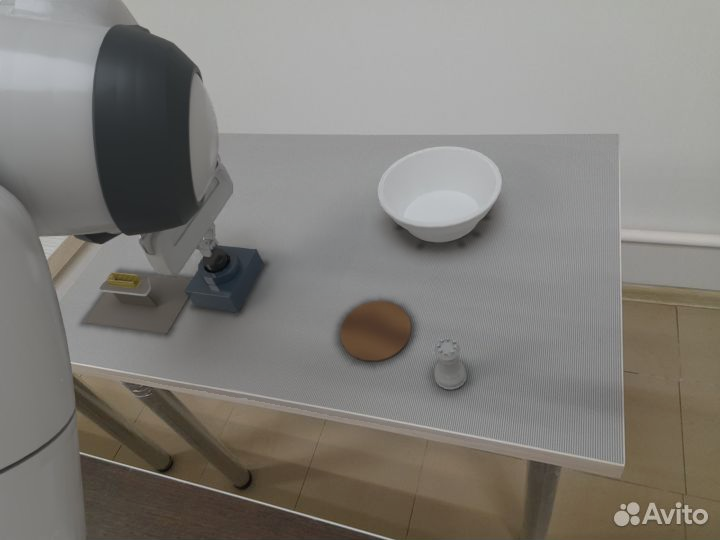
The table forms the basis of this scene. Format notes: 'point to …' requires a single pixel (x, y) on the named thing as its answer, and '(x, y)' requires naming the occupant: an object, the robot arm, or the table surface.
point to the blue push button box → (226, 280)
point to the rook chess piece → (449, 365)
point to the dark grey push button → (216, 261)
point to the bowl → (440, 191)
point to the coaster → (375, 331)
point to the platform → (139, 302)
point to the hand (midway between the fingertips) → (210, 250)
